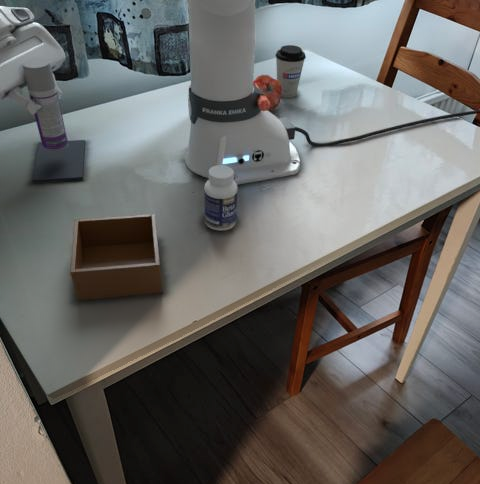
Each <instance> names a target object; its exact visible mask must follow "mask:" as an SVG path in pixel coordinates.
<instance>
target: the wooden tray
mask: <svg viewBox="0 0 480 484" xmlns="http://www.w3.org/2000/svg"><path fill="white" fill-rule="evenodd" d="M156 218H157V217H156V214H155V213H152V214H139V215H138V214H136V215H121V216H109V217H108V216H107V217H95V218H94V217H93V218H80V219H74V220H73V231H72V232H73V235H72V245H71V246H72V247H71V256H70V257H71V258H70V260H71V261H70V269H69V270H70V271H69V273H70V277H71V280H72V281H71V282H72V284H73V287H74V291H75V296H76V299H77V301H87V300H97V299H108V298H120V297H132V296H142V295H151V294H152V295H153V294H163V293H164V290H163V280H162V269H161V259H160V249H159V240H158V239H159V238H158V229H157V228H158V227H157V219H156Z"/></svg>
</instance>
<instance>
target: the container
mask: <svg viewBox="0 0 480 484" xmlns="http://www.w3.org/2000/svg"><path fill="white" fill-rule="evenodd" d="M22 65H23V69H24V74H25V78H26V83H27V86H26V87H27V91H28V95H29V99H31V100H33V99H35V100H36V101H37V102H38V103H39V104H40V105H41V107H42V108H41V110H40V111H39V112H37V113H36V114H34V115H33V116H34V119H35V122H36V123H35V124H36V126H37V130H38V134H39V137H40V142H42V146H43V148H44V149H45V150H47V151H51V152H56V151H61V150H64V149H65V148H67V147H68V141H69V139H68V136H67V131H66V127H65V126H66V125H65V122H64V118H63V117H64V116H63V113H62V112H63V111H62V107H61V103H60V99H59V98H58V94H57V89H56V85H55V81H54V77H53V74H54V72H52V69H51V65H50V61H49V60H48V59H45V58H30V59H27V60H25V61H23V63H22Z"/></svg>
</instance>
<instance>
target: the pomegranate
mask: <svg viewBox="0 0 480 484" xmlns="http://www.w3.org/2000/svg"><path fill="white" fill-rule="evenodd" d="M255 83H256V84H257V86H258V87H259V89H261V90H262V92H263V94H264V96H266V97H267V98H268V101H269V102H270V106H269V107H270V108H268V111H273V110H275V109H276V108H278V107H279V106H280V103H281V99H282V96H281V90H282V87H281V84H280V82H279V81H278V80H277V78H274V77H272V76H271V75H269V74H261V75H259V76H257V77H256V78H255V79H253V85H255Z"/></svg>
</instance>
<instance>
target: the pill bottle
mask: <svg viewBox="0 0 480 484" xmlns="http://www.w3.org/2000/svg"><path fill="white" fill-rule="evenodd" d="M233 179H234V171H233V169H232V168H230V167H228V166H225V165H216V166H213V167H211V168H210V169H209V176H208V178H207V180H206V182H205V184H204V188H203V190H204V191H203V193H204V197H203V198H204V199H203V201H204V223H205V225H206V226H207V228H209V229H211V230H214V231H220V232H222V231H228V230H231V229H232V228H234V226H236V223H237V214H238V213H237V212H238V211H237V210H238V185H237V184H236V182H235V181H234V180H233Z"/></svg>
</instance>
